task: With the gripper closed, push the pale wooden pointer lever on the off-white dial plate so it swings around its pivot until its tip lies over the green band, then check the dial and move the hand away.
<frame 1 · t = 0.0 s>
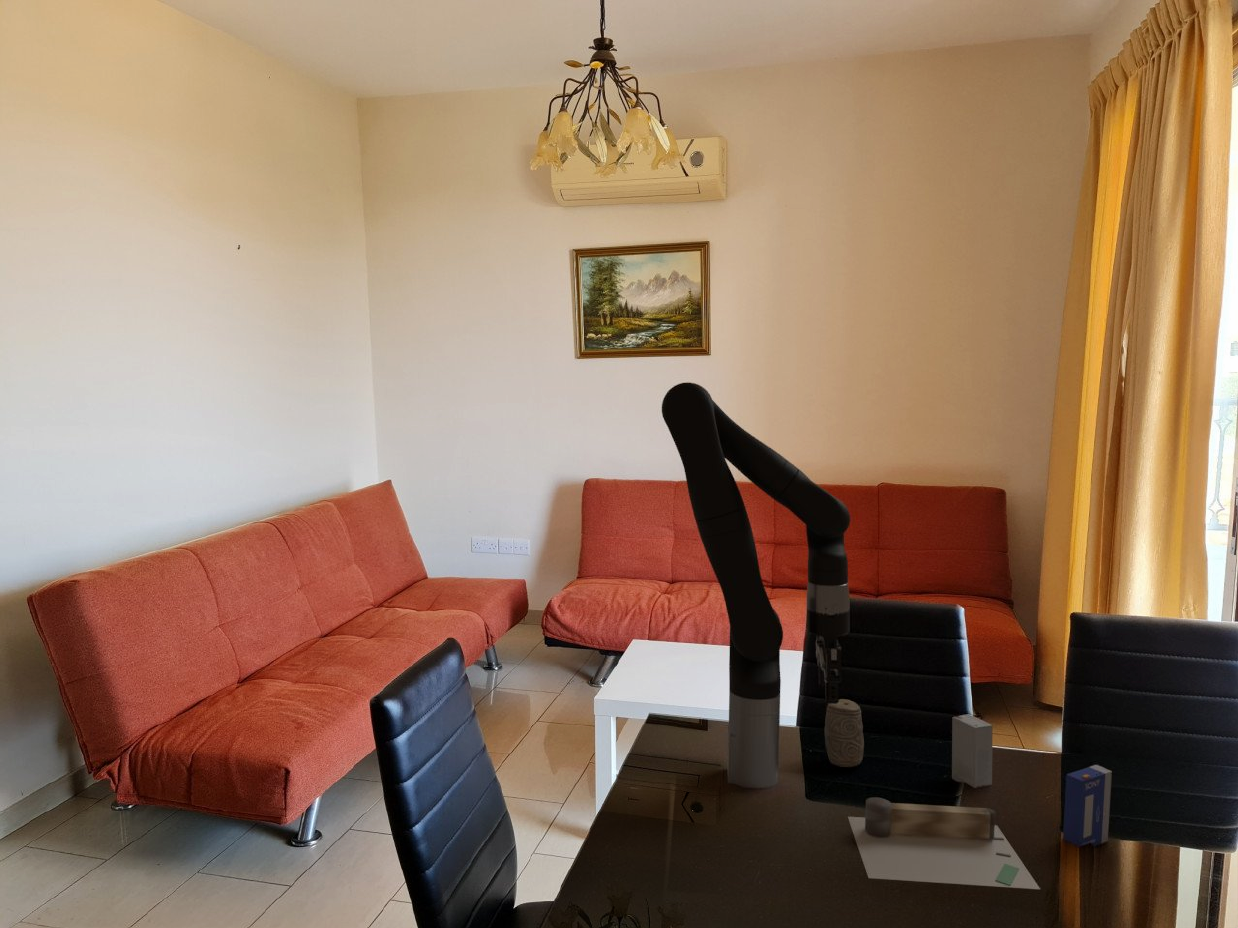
hand: (828, 694, 152), 17 cm above the table, tool pointing down, fingers open, 8 cm apart
skincare box: (970, 785, 154), on the table
carving: (843, 764, 163), on the table
pointer lever: (929, 819, 134), point 4 cm above the table, hinge at 0.0°
dial plate: (936, 856, 130), on the table
walkman: (1085, 843, 134), on the table
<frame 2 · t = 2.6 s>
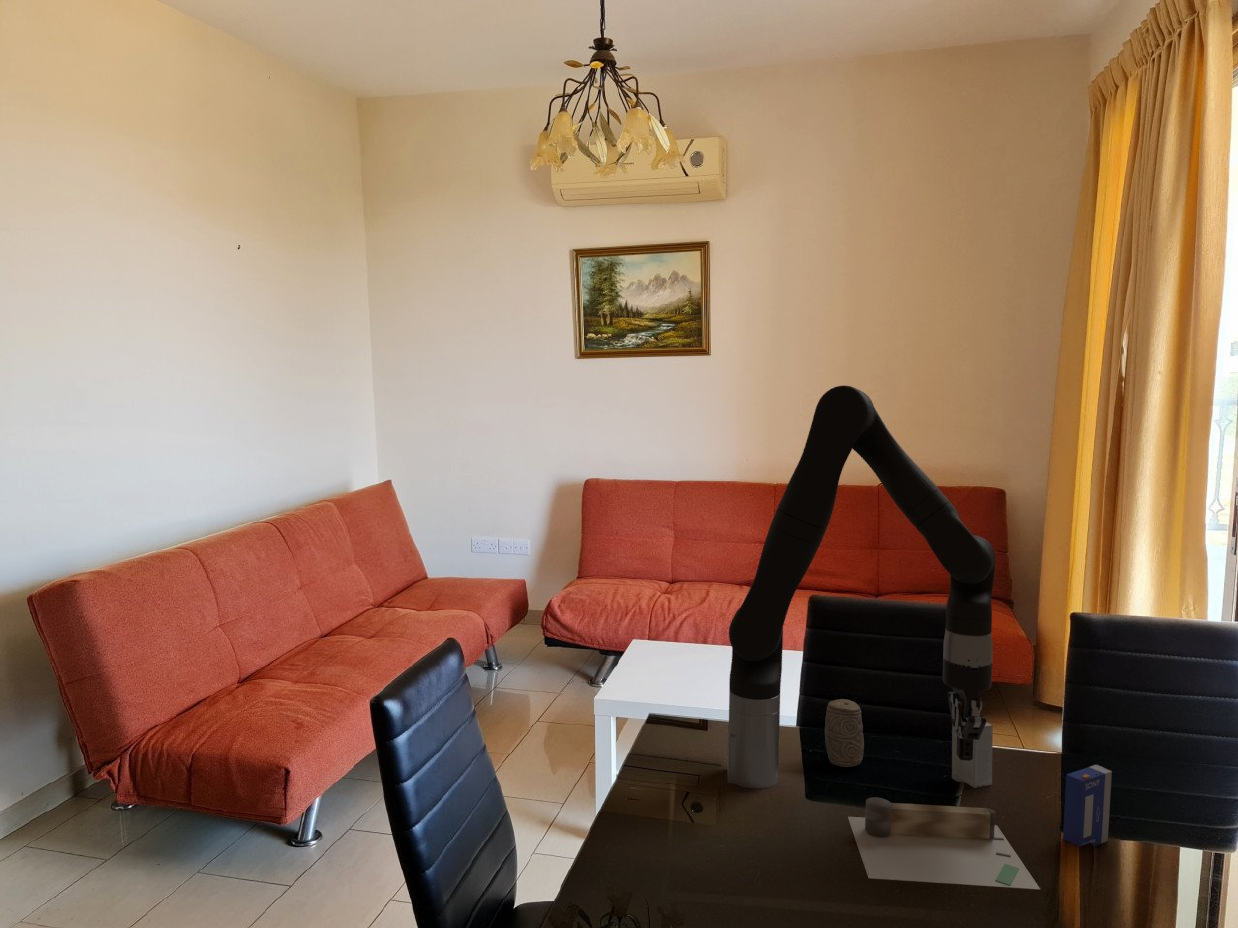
hand: (964, 758, 140), 11 cm above the table, tool pointing down, fingers closed
nothing on the table moved.
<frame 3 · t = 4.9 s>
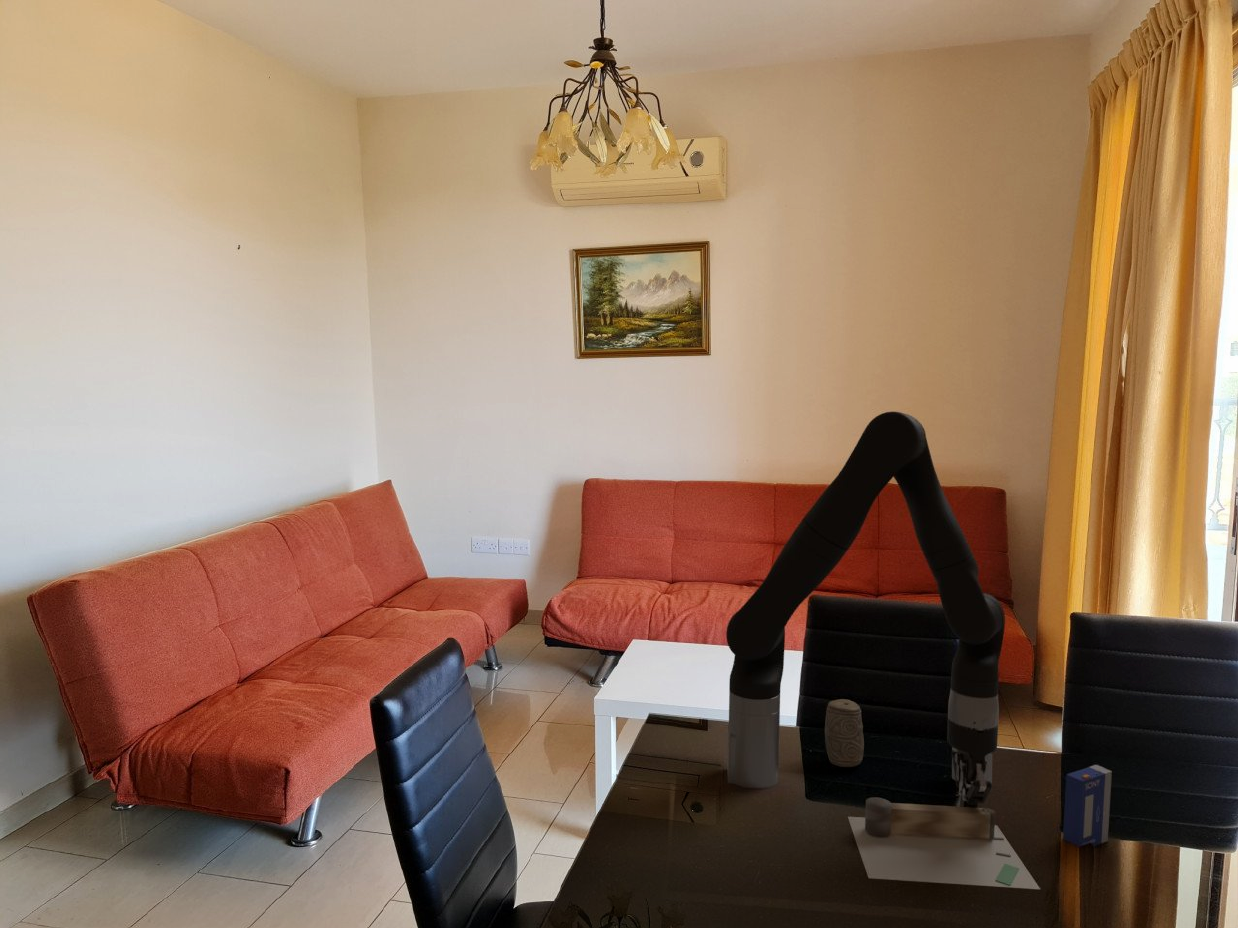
hand: (968, 820, 137), 2 cm above the table, tool pointing down, fingers closed
pointer lever: (929, 819, 134), point 4 cm above the table, hinge at 0.0°, touching gripper
everything else where it was.
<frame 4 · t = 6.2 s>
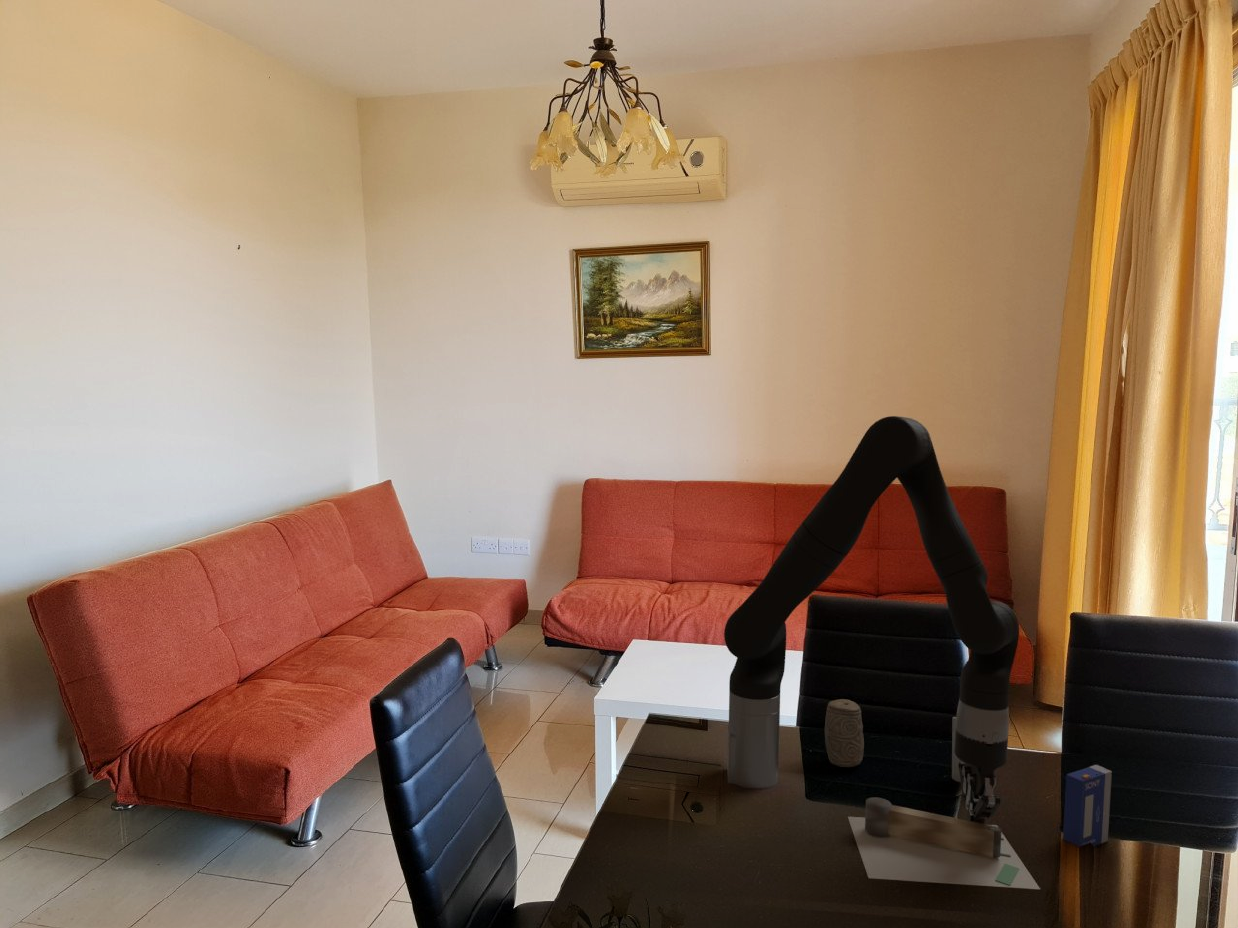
hand: (975, 835, 132), 2 cm above the table, tool pointing down, fingers closed
pointer lever: (931, 827, 131), point 4 cm above the table, hinge at -19.3°, touching gripper
everything else where it was.
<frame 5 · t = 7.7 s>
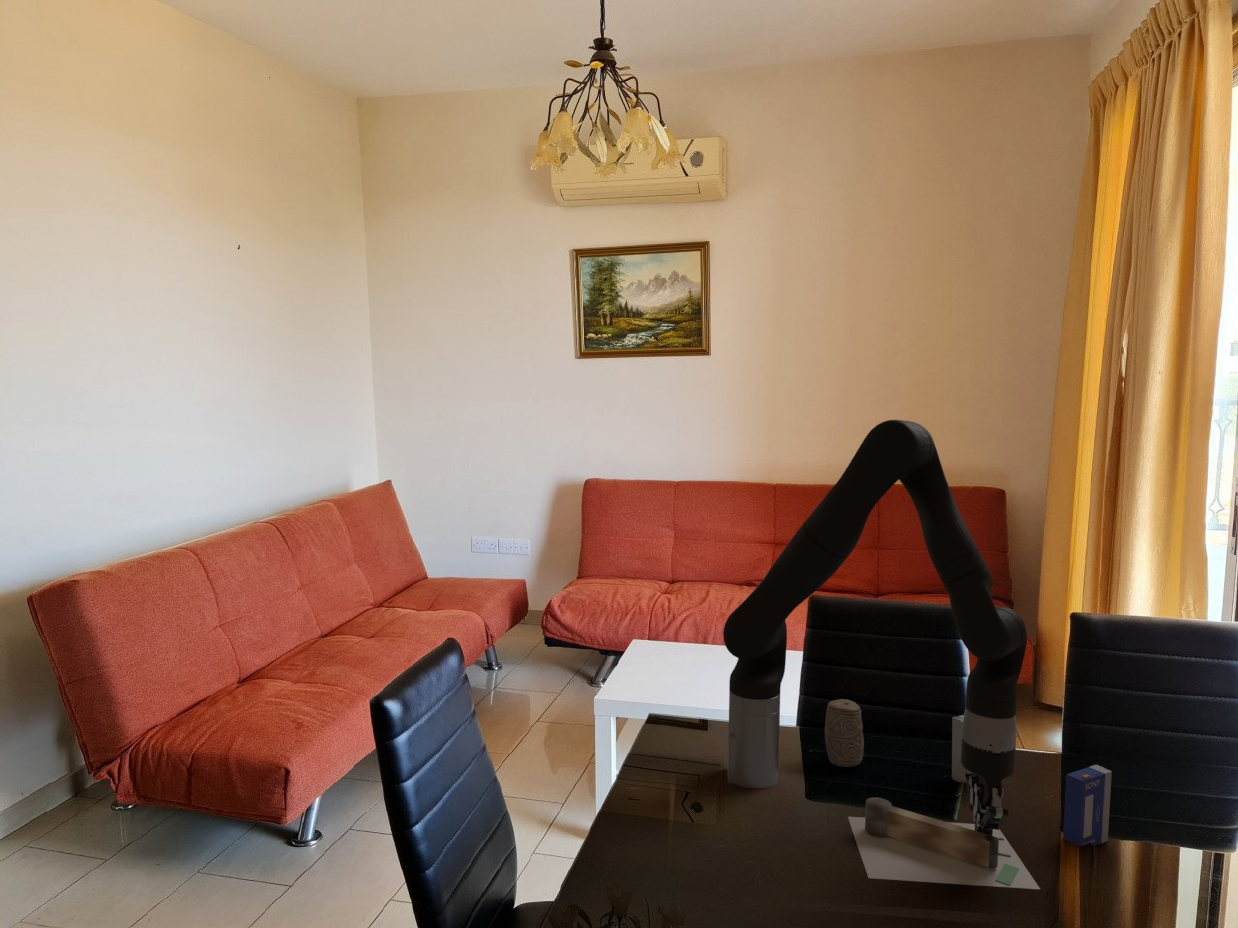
hand: (982, 847, 129), 2 cm above the table, tool pointing down, fingers closed
pointer lever: (929, 832, 130), point 4 cm above the table, hinge at -30.5°, touching gripper
everything else where it was.
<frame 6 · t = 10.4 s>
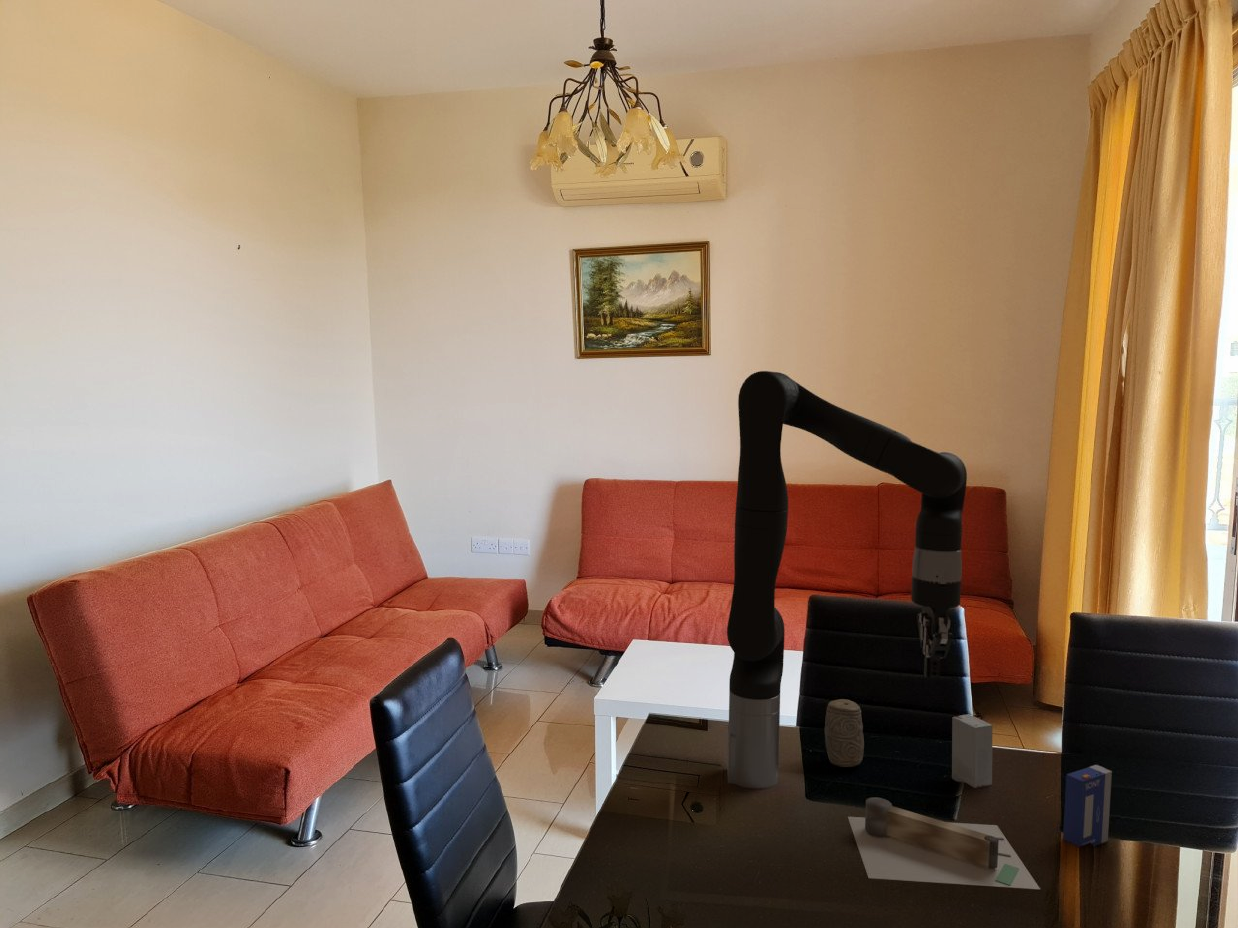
hand: (931, 678, 138), 25 cm above the table, tool pointing down, fingers closed
pointer lever: (929, 832, 130), point 4 cm above the table, hinge at -30.8°
everything else where it was.
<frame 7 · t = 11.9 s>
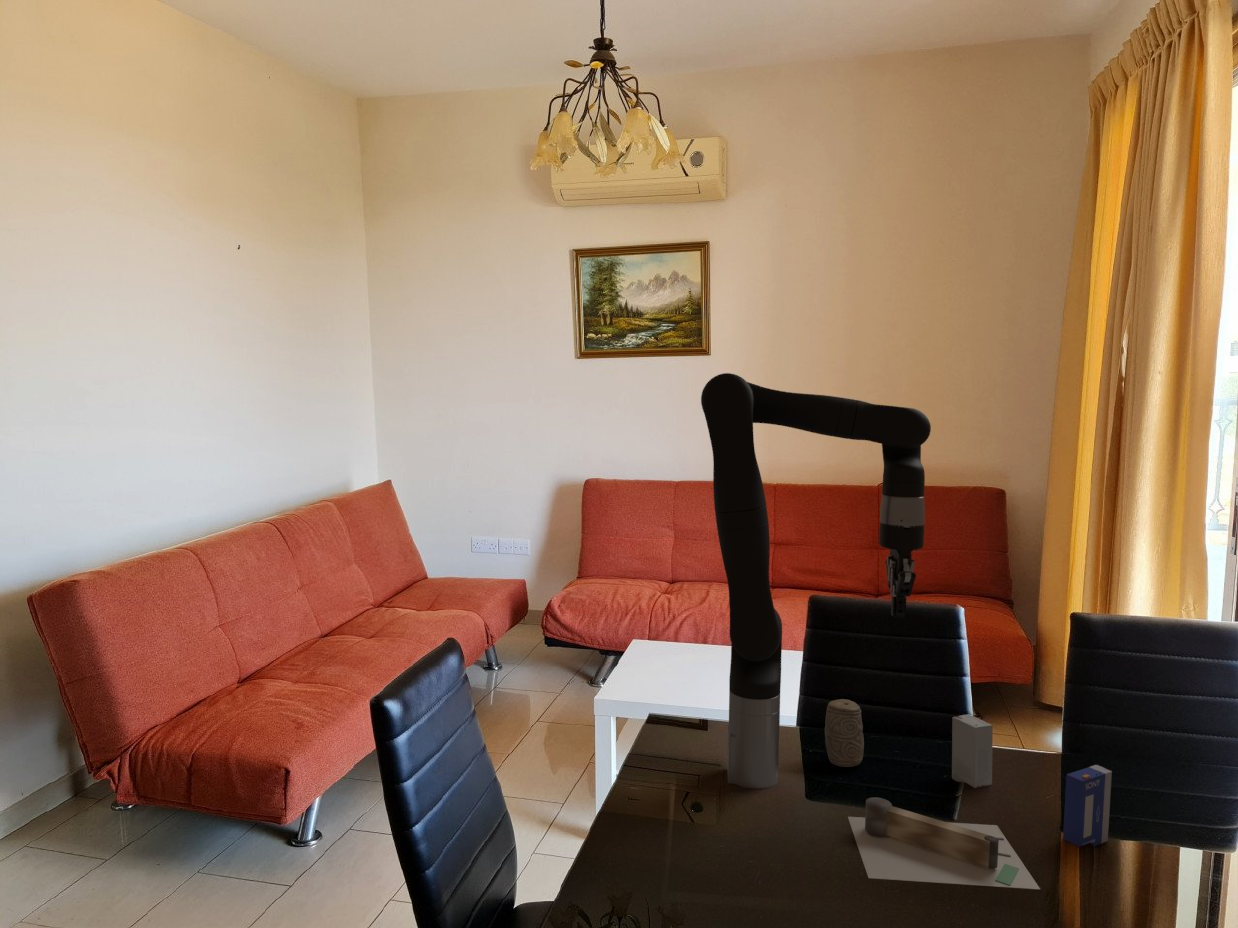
hand: (898, 616, 149), 32 cm above the table, tool pointing down, fingers closed
nothing on the table moved.
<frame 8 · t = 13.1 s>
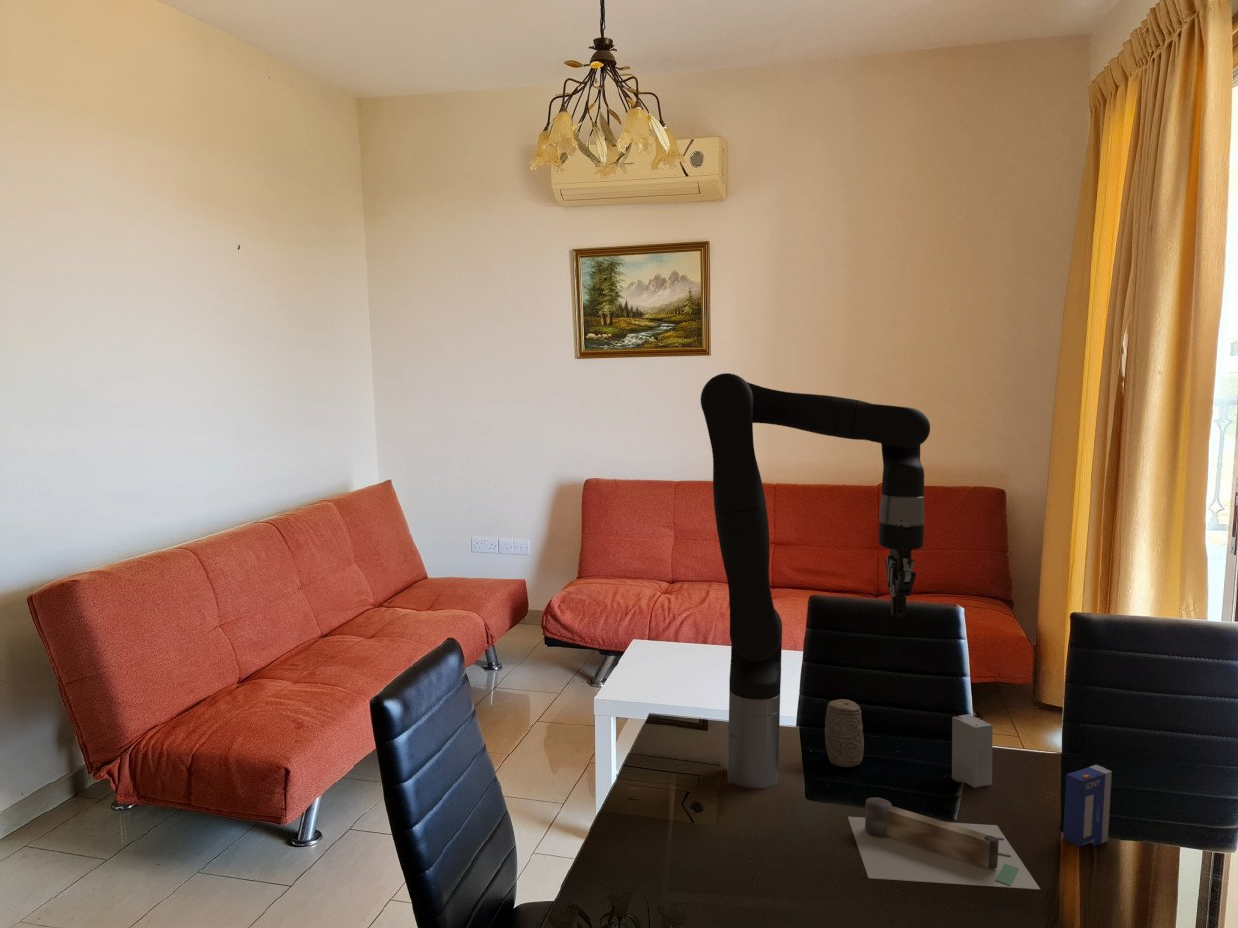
hand: (898, 616, 149), 32 cm above the table, tool pointing down, fingers closed
nothing on the table moved.
at the end: pointer lever at -31° (first picture: +0°) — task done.
